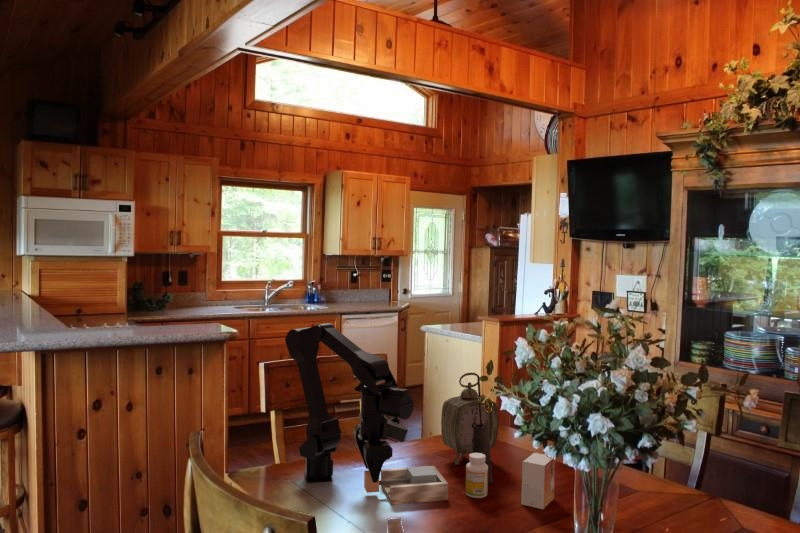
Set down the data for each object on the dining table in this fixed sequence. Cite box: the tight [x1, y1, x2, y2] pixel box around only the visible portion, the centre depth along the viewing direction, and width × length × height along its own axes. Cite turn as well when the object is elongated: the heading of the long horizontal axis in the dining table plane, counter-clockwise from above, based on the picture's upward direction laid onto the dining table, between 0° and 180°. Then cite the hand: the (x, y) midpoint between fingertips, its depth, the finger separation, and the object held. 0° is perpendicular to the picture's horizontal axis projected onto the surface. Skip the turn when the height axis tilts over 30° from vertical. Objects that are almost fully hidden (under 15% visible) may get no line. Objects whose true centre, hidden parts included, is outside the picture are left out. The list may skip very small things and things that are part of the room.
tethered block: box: [363, 465, 437, 494], centre depth 155 cm, size 17×6×4 cm, turn 103°
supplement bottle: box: [465, 453, 489, 499], centre depth 155 cm, size 5×5×10 cm
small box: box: [520, 452, 556, 510], centre depth 152 cm, size 8×6×10 cm
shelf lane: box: [380, 465, 449, 505], centre depth 156 cm, size 14×12×4 cm
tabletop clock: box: [440, 372, 499, 466], centre depth 180 cm, size 14×9×25 cm, turn 118°
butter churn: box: [472, 374, 493, 486], centre depth 164 cm, size 9×10×28 cm
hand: (371, 475), depth 153 cm, fingers open, 9 cm apart
